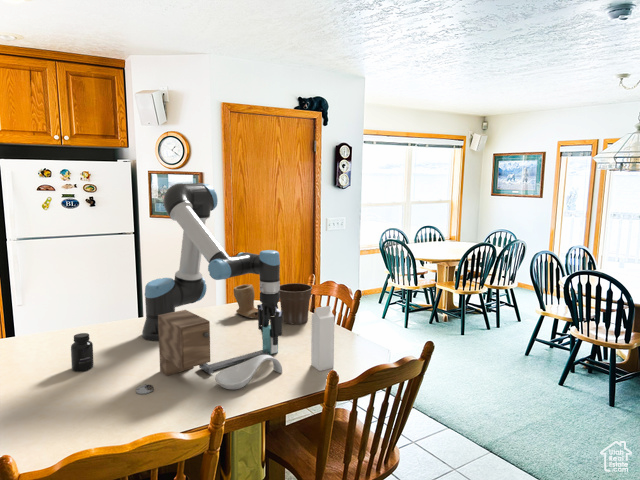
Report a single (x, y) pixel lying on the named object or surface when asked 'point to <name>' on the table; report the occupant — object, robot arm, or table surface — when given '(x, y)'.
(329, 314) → the milk
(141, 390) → the steel token
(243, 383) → the spoon rest
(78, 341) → the supplement bottle
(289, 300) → the plant pot
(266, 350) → the scraper
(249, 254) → the robot arm
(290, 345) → the table surface
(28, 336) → the table surface
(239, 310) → the brown boot
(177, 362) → the low cabinet
